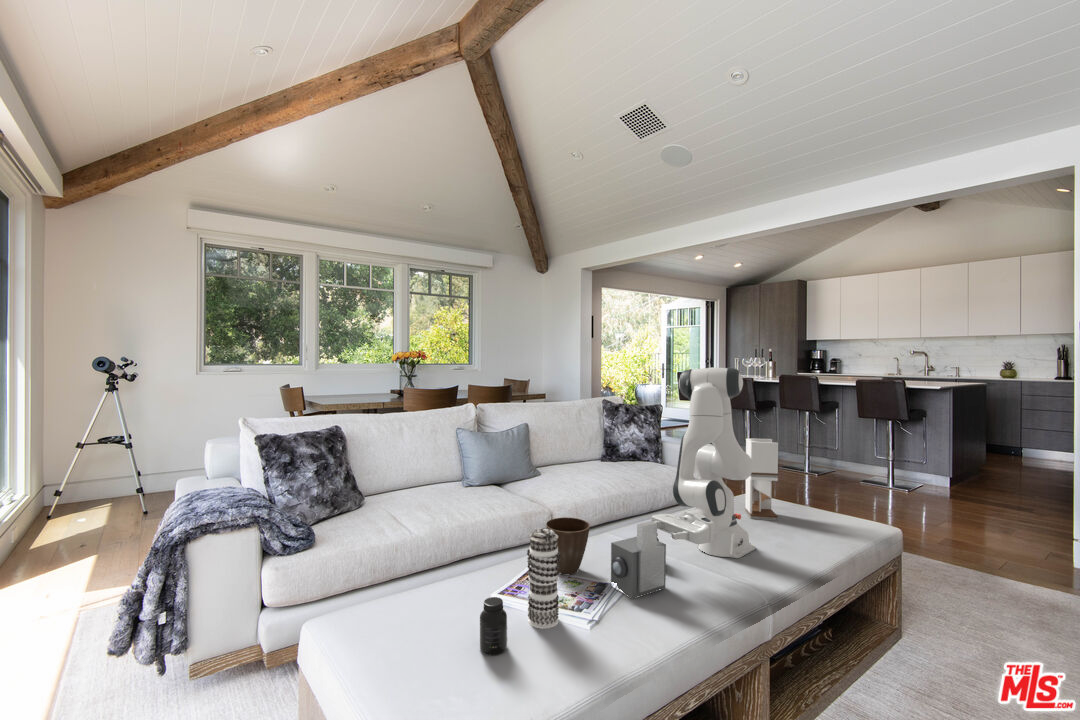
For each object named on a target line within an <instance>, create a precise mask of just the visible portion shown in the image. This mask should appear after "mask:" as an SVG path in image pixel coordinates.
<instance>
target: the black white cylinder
mask: <svg viewBox="0 0 1080 720" xmlns="http://www.w3.org/2000/svg"><path fill="white" fill-rule="evenodd" d="M528 537H529V539H530V544H529V549H527V551H526V552H527V553H526V555H527V556H528V557H527V562H526V563H527V569H528V570H527V575H528V581H529V589H528V590H529V593H528V597H527V599H528V602H527V604H528V608H527V612H528V613H527V617H528V619H527V620H528V621H527V622H528V624H529V625H530V626H532V627H533V628H536V629H541V630H542V629H543V630H544V629H545V630H546V629H552V628H553V627H555V626H557V625H558V623H559V600H560V599H559V594H558V590H559V589H558V581H559V580H560V579H559V575H560V573H559V571H558V569H559V568H560V567H559V565H558V564H557V563H558V562H560V558H559V556H560V552H558V546H557V538H558V535H557V534H555V532H554V531H553V530H551V529H548V528H546V527H540V528H536V529H534V530H533V531H532V533H530V534H529V535H528Z"/></svg>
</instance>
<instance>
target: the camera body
mask: <svg viewBox="0 0 1080 720" xmlns="http://www.w3.org/2000/svg"><path fill="white" fill-rule="evenodd" d="M660 545H664V546H665V551H664V585H663V586H660V587H657V588H653V589H650V590H647V591H644V592H641V593H640V592H638V551H637V536H633V537H629V538H624V539H621V540H617V541H613V542H610V546H611V547H610V548H611V549H610V583H611V582H614V583H617V586H618V588H619V589H621V590H622V591H623V592H624V593H625V594H626V595H628V596H629V597H628V596H627V597H628V598H630V597H631V598H633V599H636V598H635V597H637V596H640V597H642V596H641V595H643V596H645V595H644V594H646V595H648V594H647V593H649V594H651V593H650V592H652V593H654V592H653V591H655V592H657V591H656V590H658V591H660V590H659V589H661V590H664V589H663V588H665V589H666V579H667V577H666V569H667V568H666V565H667V564H666V563H667V562H666V560H667V557H666V555H667V554H666V553H667V544H666V543H664V542H662V541H660V540H659V541H657V546H660ZM625 594H624V595H625ZM626 595H625V596H626ZM631 598H630V599H631ZM637 598H638V597H637Z"/></svg>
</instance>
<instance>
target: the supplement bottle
mask: <svg viewBox="0 0 1080 720" xmlns="http://www.w3.org/2000/svg"><path fill="white" fill-rule="evenodd" d="M507 615H508V614H507V612H506V611H505V609H504V601H503V599H502V598H501V597H497V596H496V597H495V596H491V597H487V598H486V599H484V601H483V610H482V611H481V612H480V615H479V649H480V651H481V652H482V653H483V654H484V655H487V656H498V655H501V654H503V653H505V651H506V650H507V647H508V616H507Z"/></svg>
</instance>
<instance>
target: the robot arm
mask: <svg viewBox="0 0 1080 720" xmlns="http://www.w3.org/2000/svg"><path fill="white" fill-rule="evenodd" d="M743 386H744V380H743V376H742V374H741V371H740V370H738V368H734V367H706V368H696V369H692V368H691V369H685V370H683V371H682V372H681V373H680V375H679V378H678V387H679V391H680V393H681V394H682V396H684V397H685V398H687V399H688V400H689V402H690V403H689V419H688V426H687V428H686V431H685V432H684V433H683V435H682V437H681V441H680V446H679V453H678V461H677V468H676V475H675V479H674V483H673V485H672V494H673V499H674V500H675V502H676V503H677V504H678V505H679V506H681V507H684V508H685V507H686V508H695V509H692V510H687V511H683V512H682V513H681V514H680V515H679V516H676V515H674V514H670V513H659V514H653V515H652V516H651V519H650V521H653V522H655V523H657V530H660V531H663V532H665V533H668V534H670V535H671V536H670V537H671V539H672V540H675V541H676V540H685V541H688V542H690V543H693V544H696V545H698V550H699V549H700V550H699V551H700V552H702V551H703V552H702V553H704V552H705V553H704V554H708V555H711V556H714V557H723V558H724V557H725V558H732V559H733V558H734V559H740V558H742V557H744V556H745V555H747V554H749V553H751V552H753V551H754V550H756V545H755V544H753V543H752V542H750V538H749V534H748V533H749V532H747V530H746V529H745V528H743V527H742V526H741V525H740V524H739V523H738V522H737V520H741V519H742V514H741V513H737V512H735V509H734V508H735V507H734V506H735V495H734V492H733V491H732V490H731V489H730V487H728V486H727V485H726V484H725V482H724V480H723V479H725V480H731V481H746V479H747V478H748V477H749V476H750V475H751V473H752V470H753V463H752V460H751V458H750V456H749V455H748V454H746V451H744V450H743V448H742V447H741V446H740V444H739V442H738V440H737V437H736V435H735V432H734V427H733V426H734V425H733V416H732V404H731V400H732V399H734V398H735V397H738V396H739V395H740V394H741V392H742V390H743ZM709 444H712V445H711V446H710V445H709ZM694 474H695V475H696V477H697V478H695V477H694Z"/></svg>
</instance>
